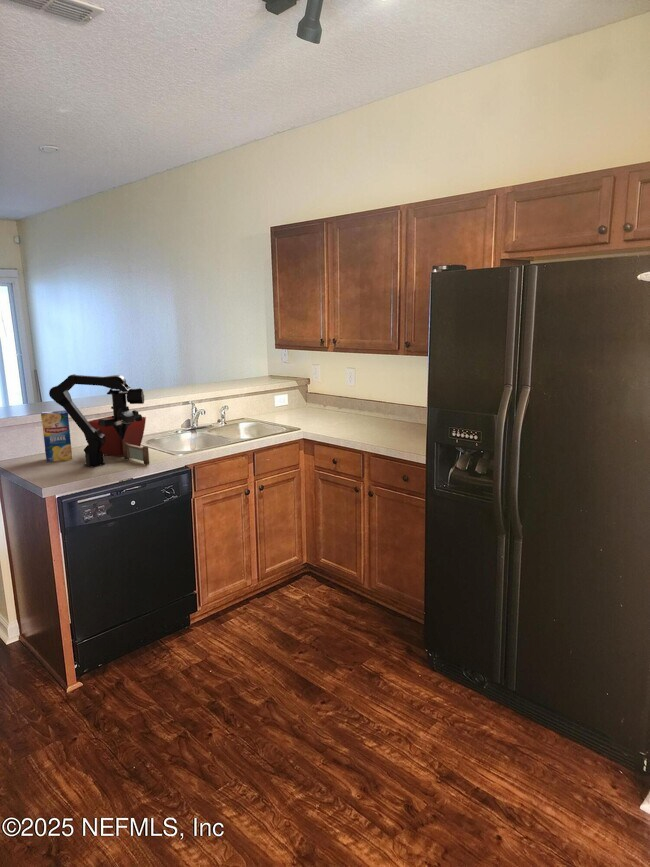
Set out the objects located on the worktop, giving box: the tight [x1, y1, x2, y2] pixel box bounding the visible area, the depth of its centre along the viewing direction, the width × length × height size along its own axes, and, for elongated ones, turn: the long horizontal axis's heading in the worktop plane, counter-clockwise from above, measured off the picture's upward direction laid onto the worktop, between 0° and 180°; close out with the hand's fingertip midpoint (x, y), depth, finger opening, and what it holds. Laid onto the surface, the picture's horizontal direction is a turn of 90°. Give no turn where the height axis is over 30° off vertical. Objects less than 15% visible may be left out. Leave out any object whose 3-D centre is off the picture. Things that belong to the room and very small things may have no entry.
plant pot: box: [87, 415, 147, 457], centre depth 273 cm, size 19×19×17 cm
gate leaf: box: [126, 444, 144, 462], centre depth 258 cm, size 2×12×6 cm, turn 53°
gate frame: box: [123, 443, 150, 466], centre depth 258 cm, size 2×17×8 cm, turn 52°
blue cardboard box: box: [40, 410, 73, 463], centre depth 261 cm, size 7×11×22 cm, turn 117°
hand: (122, 439), depth 252 cm, fingers closed
